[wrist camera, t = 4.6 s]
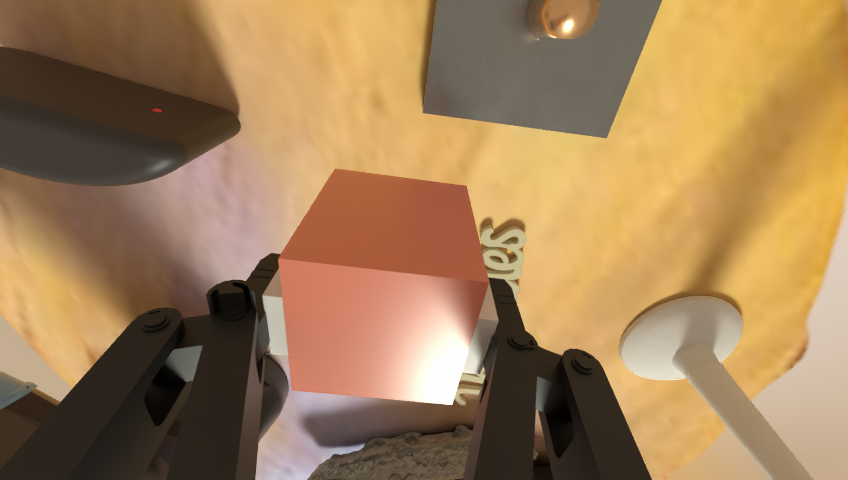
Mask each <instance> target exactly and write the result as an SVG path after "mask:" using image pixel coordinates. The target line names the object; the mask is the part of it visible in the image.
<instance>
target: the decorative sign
mask: <svg viewBox="0 0 848 480" xmlns="http://www.w3.org/2000/svg"><path fill="white" fill-rule="evenodd" d="M493 232H494V230H493V227H492V226H491V225H487V226H485V227H483V228H482V230H481V232H480V237H481V241H482V243H483V244H484V245H485V246H488V247H486V248H484V249H483V250H482V254H483V258H484V262H485V265H487V266H488V267H490V268H493V269H496V270H488V269H486V270H487V274H488V277H490V278H499V279H505V280H506V282H507V283H508V284H509V285H510V286H511V287H512V290H513V293H514V298H515V300H517V294H518V293H519V292H520V287H519V285H518V283H517V282H516V281H515V280H516V279H518V278H520V277H521V276H522V268H521V265H522V264H523V262H524V255H523V253H522V251H521V249H520V248H522V247H523V246H524V245H525V243H526V235H525V233H524V231H523V230H522V229H521V228H520V227H517V226H510V227H508V228H506V229H504V230H503V231H501V232H500V233H499V234H497V235H495V236H493V237H491V236H490V235H491V234H492V233H493ZM511 237H517V239H516V240H509V241H506V240H507V239H509V238H511ZM497 247H503V248H508V249H510V250H512V251H513V252H514V253H515V254H516V256H515V257H514V258H512V259H509V260H508V257H507V254H506V253H505V252H504V251H503V250H501V249H500V248H497ZM490 256H498V257H500V258H501V259H495V258H492V257H490ZM500 270H505V271H500ZM484 378H485V370H484V365H483V368H482V371H481V374H470V373H462V374H461V378H460V379H461V380H466V381H471V382H477V383H481V384H483V381H484ZM481 387H482V386H476V385H467V384H458V387H457V391H456V394H455V397H454V399H455V400H456V401H457V402H458V403H459V404H460V405H466V399H465V398H464V397H463V396H461V395H460V394H462V393H468V394H476V395H479V392H480V390H481Z"/></svg>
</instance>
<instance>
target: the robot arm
mask: <svg viewBox="0 0 848 480" xmlns="http://www.w3.org/2000/svg"><path fill="white" fill-rule="evenodd" d="M480 246H481V245H480ZM481 250H482V249H481ZM280 255H281V254H274V253H271V254H269V255H268V256H266V257H265V258H263V259H261V260H260V262H259V263H258V265H257V266H256V268H255V270H253V272H252V273H251V275H250V277H248V279H247V280H246V281H243V280H230V281H224V282H222V283H219V284H217V285H215V286H214V287H212V288H211V289H210V290H209V291H208V293H207V294H206V297H207V301H208V305H209V309H210V313H211V314H209V315H204V316H197V317H189V318H182V315H181V313H180V312H179V311H178V310H176V309H173V308H158V309H154V310H151V311H148V312H146V313H144V314H142V315H140V316H138V317H137V318H136V319H135V320H134V321H132V322H131V324H130V325H129V326H128V327H127V328H126V329H125V330H124V331H123V333H122V334H121V335H120V336H119V337H118V338H117V339H116V340H115V342H114V343H113V344H112V345H111V346H110V347H109V348H108V349H107V351H106V352H105V353H104V354H103V355H102V356H101V357H100V358H99V360H98V361H97V362H96V363H95V364H94V365H93V366H92V367H91V369H90V370H89V371H88V372H87V373H86V374H85V375H84V376H83V378H82V379H81V380H80V381H79V382H78V383H77V384H76V385H75V386H74V388H73V389H72V390H71V391H70V392H69V393H68V394H67V395H66V397H65V398H64V399H63V400H62V401H61V402H59V401H58V400H56V399H54V398H52V397H50V396H48V395H47V394H45V393H43V392H41V391H39V390H38V389H36V387H37V385H36V384H34V383H32V382H30V383H29V382H26V383H24V382H22V381H20V380H18V379H16V378H14V377H12V376H10V375H8V374H6V373H4V372H1V371H0V480H255V475H256V463H257V452H258V442H259V441H260V440H261V438H262V437H263V436H264V435H265V433H266V432H267V431H268V429H269V428H270V427H271V426H272V424H273V423H274V422H275V420H276V419H277V418H278V416H279V415H280V413H281V411H282V409H283V406H284V403H285V401H286V398H287V395H288V390H289V388H288V382H287V379H286V377H285V375H284V373H283V371H282V370H281V369H280V368H279V366H278V365H277V364H276V363H275V362H273V361H272V360H271V359H270V358H268V357H267V356H266V355H264V353H265V351H266V349H267V347H268V345H269V347H270V354H273V355H284V356H288V347H287V338H286V328H285V319H284V309H283V300H282V291H281V281H280V272H279V262H278V258H279V256H280ZM484 263H485V262H484ZM485 267H486V266H485ZM486 271H487V270H486ZM487 275H488V274H487ZM488 280H489V285H488V288H487V291H486V295H485V298H484V301H483V305H482V308H481V311H480V315H479V318H478V321H477V325H476V328H475V331H474V335H473V338H472V341H471V344H470V348H469V351H468V354H467V358H466V361H465V364H464V368H463V371H462V373H470V374H481V371H482V368H483V365H484V370H485V378H484V381H483V384H482V387H481V390H480V392H479V395H478V397H480V399H479V404H478V408H477V413H476V418H475V423H474V428H473V433H472V437H471V442H470V447H469V452H468V457H467V462H466V467H465V471H464V476H463V480H532V477H533V456H534V434H535V412H536V410H538V412H539V416H540V421H541V425H542V430H543V434H544V439H545V444H546V448H547V453H548V457H549V462H550V466H551V471H552V475H553V480H652V479H651V477H650V474H649V472H648V470H647V468H646V465H645V463H644V461H643V458H642V456H641V454H640V452H639V449H638V447H637V445H636V442H635V440H634V438H633V436H632V433H631V431H630V429H629V427H628V424H627V422H626V420H625V417H624V415H623V413H622V411H621V408H620V406H619V404H618V401H617V399H616V397H615V395H614V392H613V390H612V388H611V385H610V383H609V381H608V379H607V376H606V374H605V372H604V370H603V367H602V366H601V364H600V363H599V361H598V360H597V359H595V358H594V357H593V356H592V355H590V354H589V353H587V352H585V351H582V350H579V349H569V350H566V351H565V352H564V354H563V355H562V356H561V355H559V354H556V353H553V352H550V351H548V350H545V349H543V348H541V347H539V346H538V344H537V342H536V340H535V339H534V337H533V336H532V335H530V334H529V333H528V332H526V331H525V328H524V325H523V321H522V318H521V315H520V312H519V309H518V306H517V303H516V300H515V298H514V293H513V290H512V287H511V286H510V285H509V284H508V283H507V282H506V280H505V279H499V278H490V277H488Z"/></svg>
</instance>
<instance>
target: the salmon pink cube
mask: <svg viewBox="0 0 848 480" xmlns="http://www.w3.org/2000/svg"><path fill="white" fill-rule="evenodd" d="M278 262H279V272H280V281H281V291H282V300H283V309H284V319H285V328H286V338H287V347H288V357H289V366H290V376H291V385H292V390H294V391H305V392H316V393H327V394H338V395H349V396H360V397H371V398H382V399H393V400H404V401H415V402H426V403H437V404H448V405H452V404H453V401H454V397H455V394H456V391H457V387H458V384H459V381H460V378H461V374H462V371H463V368H464V364H465V361H466V358H467V354H468V351H469V348H470V344H471V341H472V338H473V335H474V331H475V328H476V325H477V321H478V318H479V315H480V311H481V308H482V305H483V301H484V298H485V295H486V291H487V288H488V285H489V280H488V275H487V271H486V267H485V263H484V258H483V254H482V250H481V246H480V241H479V237H478V233H477V229H476V224H475V220H474V216H473V212H472V207H471V203H470V199H469V195H468V190H467V186H463V185H455V184H448V183H440V182H432V181H425V180H417V179H410V178H402V177H394V176H387V175H379V174H372V173H364V172H356V171H349V170H341V169H335V170H334V171H333V173H332V174H331V176H330V177H329V179H328V181H327V182H326V184H325V185H324V187H323V188H322V190H321V192H320V193H319V195H318V196H317V198H316V199H315V201H314V203H313V204H312V206H311V207H310V209H309V211H308V212H307V214H306V215H305V217H304V218H303V220H302V222H301V223H300V225H299V226H298V228H297V229H296V231H295V233H294V234H293V236H292V237H291V239H290V241H289V242H288V244H287V245H286V247H285V248H284V250H283V252H282V253H281V255H280V256H279V258H278Z"/></svg>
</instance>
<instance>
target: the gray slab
mask: <svg viewBox="0 0 848 480" xmlns="http://www.w3.org/2000/svg"><path fill="white" fill-rule="evenodd" d="M661 2H662V0H436V7H435V15H434V23H433V31H432V39H431V47H430V55H429V63H428V71H427V79H426V87H425V95H424V103H423V113H427V114H434V115H442V116H449V117H456V118H463V119H471V120H478V121H485V122H493V123H500V124H507V125H514V126H522V127H529V128H536V129H544V130H551V131H558V132H565V133H573V134H580V135H587V136H595V137H602V138H607V136H608V133H609V131H610V128H611V126H612V123H613V121H614V118H615V116H616V113H617V111H618V108H619V106H620V103H621V101H622V98H623V96H624V94H625V91H626V89H627V86H628V84H629V81H630V79H631V76H632V74H633V71H634V69H635V66H636V64H637V61H638V59H639V56H640V54H641V51H642V49H643V46H644V44H645V41H646V39H647V36H648V34H649V31H650V29H651V26H652V24H653V22H654V19H655V17H656V14H657V12H658V9H659V7H660V4H661Z"/></svg>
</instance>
